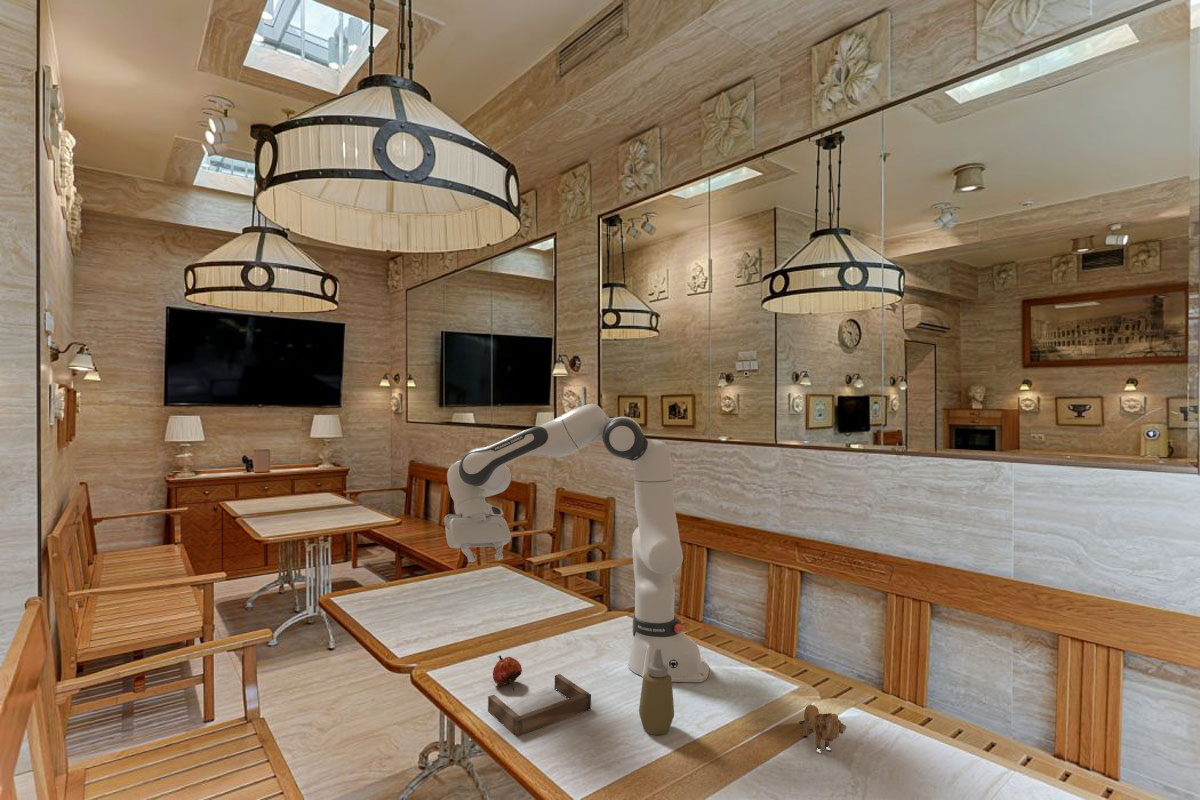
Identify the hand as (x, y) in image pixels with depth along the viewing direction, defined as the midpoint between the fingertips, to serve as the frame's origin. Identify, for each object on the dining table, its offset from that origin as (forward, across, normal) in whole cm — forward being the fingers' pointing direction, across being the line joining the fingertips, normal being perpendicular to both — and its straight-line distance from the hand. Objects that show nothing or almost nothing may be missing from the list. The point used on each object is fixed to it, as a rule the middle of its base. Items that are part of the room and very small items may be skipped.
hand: (486, 560), depth 163 cm
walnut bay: (+39, +1, -2) cm, 39 cm away
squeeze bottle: (+54, +12, -24) cm, 60 cm away
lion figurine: (+69, +32, -50) cm, 91 cm away
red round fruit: (+30, +4, +10) cm, 32 cm away
